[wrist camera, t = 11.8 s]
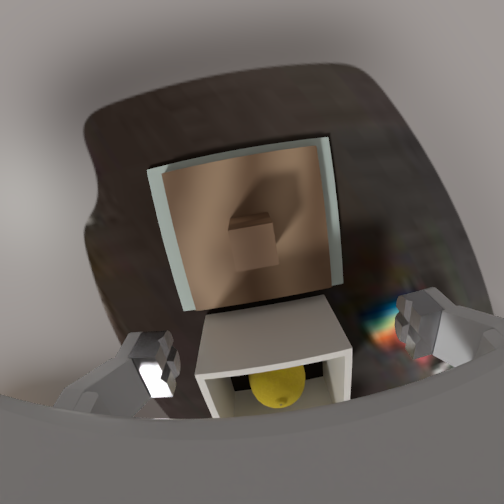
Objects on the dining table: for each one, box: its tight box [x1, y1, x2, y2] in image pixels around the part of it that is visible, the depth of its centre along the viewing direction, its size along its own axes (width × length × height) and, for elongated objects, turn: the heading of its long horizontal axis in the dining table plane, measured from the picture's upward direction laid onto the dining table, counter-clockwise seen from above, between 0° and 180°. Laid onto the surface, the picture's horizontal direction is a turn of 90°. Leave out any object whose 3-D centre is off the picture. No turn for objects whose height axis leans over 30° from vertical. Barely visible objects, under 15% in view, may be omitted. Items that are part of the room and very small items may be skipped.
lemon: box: [249, 365, 305, 408], centre depth 27 cm, size 6×6×8 cm
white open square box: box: [195, 294, 352, 418], centre depth 27 cm, size 12×12×9 cm
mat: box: [147, 137, 343, 311], centre depth 26 cm, size 16×14×1 cm
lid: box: [162, 146, 332, 311], centre depth 24 cm, size 13×13×5 cm
